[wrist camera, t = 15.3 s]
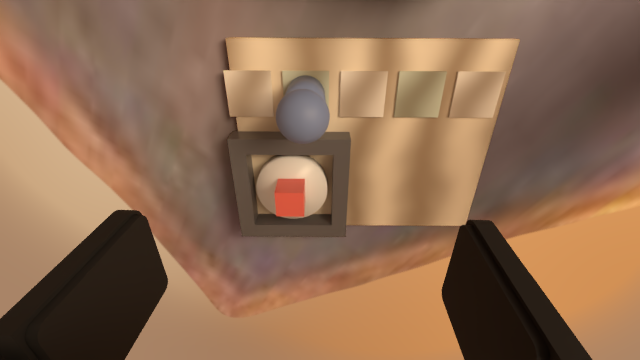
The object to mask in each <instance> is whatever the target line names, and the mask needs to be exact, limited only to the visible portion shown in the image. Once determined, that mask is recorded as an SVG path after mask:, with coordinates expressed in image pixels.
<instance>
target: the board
mask: <svg viewBox="0 0 640 360" xmlns="http://www.w3.org/2000/svg"><path fill="white" fill-rule="evenodd" d="M519 41H520V39H477V38H245V37H228V38H226V46H227V53H228V60H229V68H230V70H224V71H223V72H224V79H225V86H226V93H227V100H228V107H229V113H230V117H236V120H237V128H238V131H270V132H280V130H279V128H278V126H277V123H276V109H277V106H278V104H279V102H280V100H281V99H282V98H283V97H284V96H285V93H286V91H287V88H288V86H289V84H290V83H291V81H292V80H294V79H295V78H297V77H299V76H303V75H308V76H312V77H314V78H316V79H317V80H319V82H320V83H321V84H322V86H323V88H324V91H325V100H326V104H327V106H328V108H329V113H330V120H329V125H328V128H327V130H326V131H325V132H349V133H350V137H351V150H350V168H349V186H348V203H347V221H346V225H408V226H461V225H466V221H467V218H468V215H469V211H470V208H471V204H472V201H473V198H474V194H475V191H476V187H477V184H478V181H479V177H480V174H481V170H482V167H483V164H484V160H485V157H486V153H487V150H488V147H489V143H490V140H491V136H492V133H493V130H494V126H495V123H496V120H497V116H498V113H499V109H500V106H501V103H502V99H503V96H504V92H505V89H506V86H507V82H508V79H509V75H510V72H511V69H512V65H513V62H514V58H515V55H516V52H517V48H518V45H519ZM251 156H252V165H253V173H254V182H255V191H256V199H257V208H258V214H273V213H272V212H270V211H269V210H268V209H266V208H265V207H264V205H263V204H262V203H261V201H260V199H259V197H258V195H257V189H256V185H257V180H258V177H259V174H260V171H261V169H262V167H263V166H264V164H265V163H266V162H267V161H268V160H269V159H270V158H272V157H273V156H275V155H251ZM308 156H310V157H312V158H313V159H315V160H316V161H317V162H318V163H319V164H320V165H321V166H322V168H323V169H324V171H325V174H326V177H327V197H326V200H325V202H324V204H323V205H322V206H321V208H320V209H319V210H318V211H316V212H315V213H313V214H331V204H332V166H333V155H308Z"/></svg>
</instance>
